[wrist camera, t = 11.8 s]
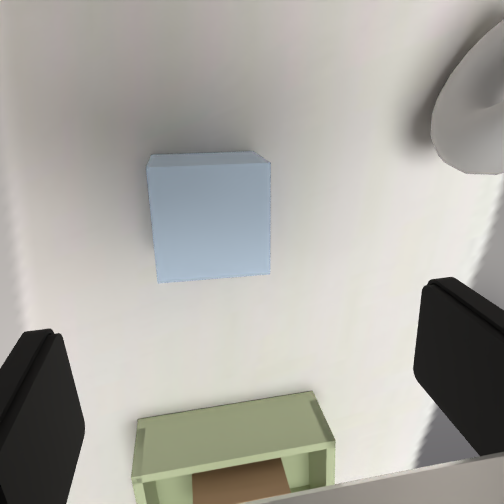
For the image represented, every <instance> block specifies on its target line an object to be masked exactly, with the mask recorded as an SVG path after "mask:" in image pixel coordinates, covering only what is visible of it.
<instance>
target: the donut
mask: <svg viewBox="0 0 504 504" xmlns="http://www.w3.org/2000/svg"><path fill="white" fill-rule="evenodd" d="M431 139H432V142H433V145H434V147H435V149H436V151H437V153H438V156H439V157H440V158H441V159H442V160H443V161H444V162H445V163H447V164H448V165H450V166H452V167H454V168H456V169H457V170H459V171H462V172H464V173H466V174H488V175H497V174H500V173H504V19H503V20H502V21H501V22H499V23H498V24H497V25H496V26H494V27H493V28H492V29H491V30H490V31H488V32H487V33H486V34H485V35H484V36H483V37H482V38H481V39H480V40H479V41H478V42H477V43H476V44H475V45H474V46H473V47H472V48H471V49H470V50H469V51H468V53H467V54H466V55H465V56H464V58H463V59H462V60H461V62H460V63H459V64H458V65H457V67H456V68H455V69H454V71H453V72H452V73H451V75H450V77H449V78H448V80H447V82H446V83H445V85H444V87H443V88H442V90H441V92H440V94H439V96H438V98H437V101H436V104H435V107H434V109H433V112H432V120H431Z"/></svg>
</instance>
